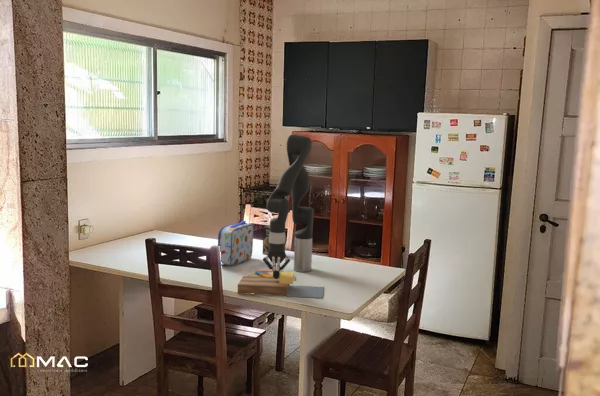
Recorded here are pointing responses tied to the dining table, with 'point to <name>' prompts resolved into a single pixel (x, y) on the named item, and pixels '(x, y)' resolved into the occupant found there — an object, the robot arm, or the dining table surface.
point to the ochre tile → (286, 278)
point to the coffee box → (266, 239)
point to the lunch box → (236, 243)
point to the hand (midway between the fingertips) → (276, 278)
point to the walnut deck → (262, 286)
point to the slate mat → (305, 291)
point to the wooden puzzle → (265, 274)
